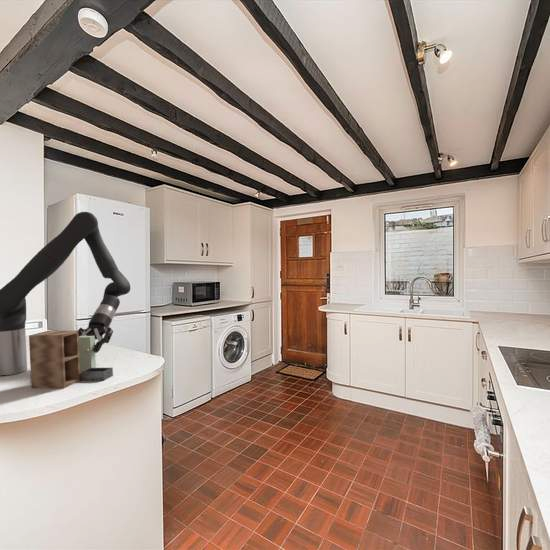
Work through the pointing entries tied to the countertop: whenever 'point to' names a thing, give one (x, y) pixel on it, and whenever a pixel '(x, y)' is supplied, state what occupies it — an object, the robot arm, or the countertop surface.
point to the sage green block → (87, 352)
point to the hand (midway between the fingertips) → (84, 351)
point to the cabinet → (54, 359)
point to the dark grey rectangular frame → (96, 374)
